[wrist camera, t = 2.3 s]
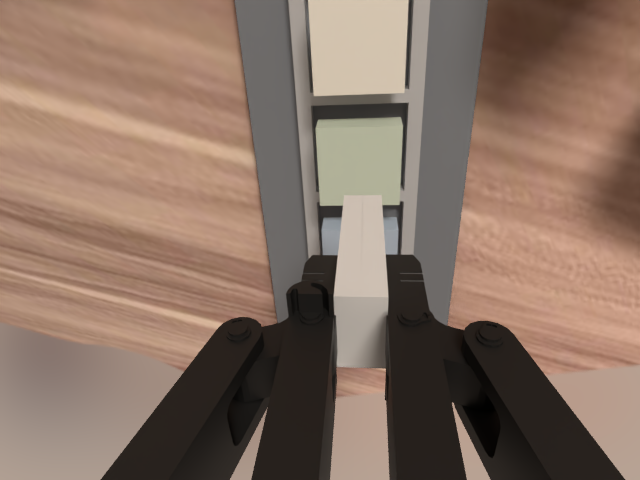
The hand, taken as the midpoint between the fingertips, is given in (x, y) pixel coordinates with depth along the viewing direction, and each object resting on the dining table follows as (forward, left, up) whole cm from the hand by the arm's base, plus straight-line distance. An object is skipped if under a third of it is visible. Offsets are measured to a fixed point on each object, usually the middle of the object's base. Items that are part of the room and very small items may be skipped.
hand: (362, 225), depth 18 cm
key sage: (0, 0, -8) cm, 8 cm away
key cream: (0, +6, -8) cm, 10 cm away
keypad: (0, -3, -11) cm, 11 cm away
